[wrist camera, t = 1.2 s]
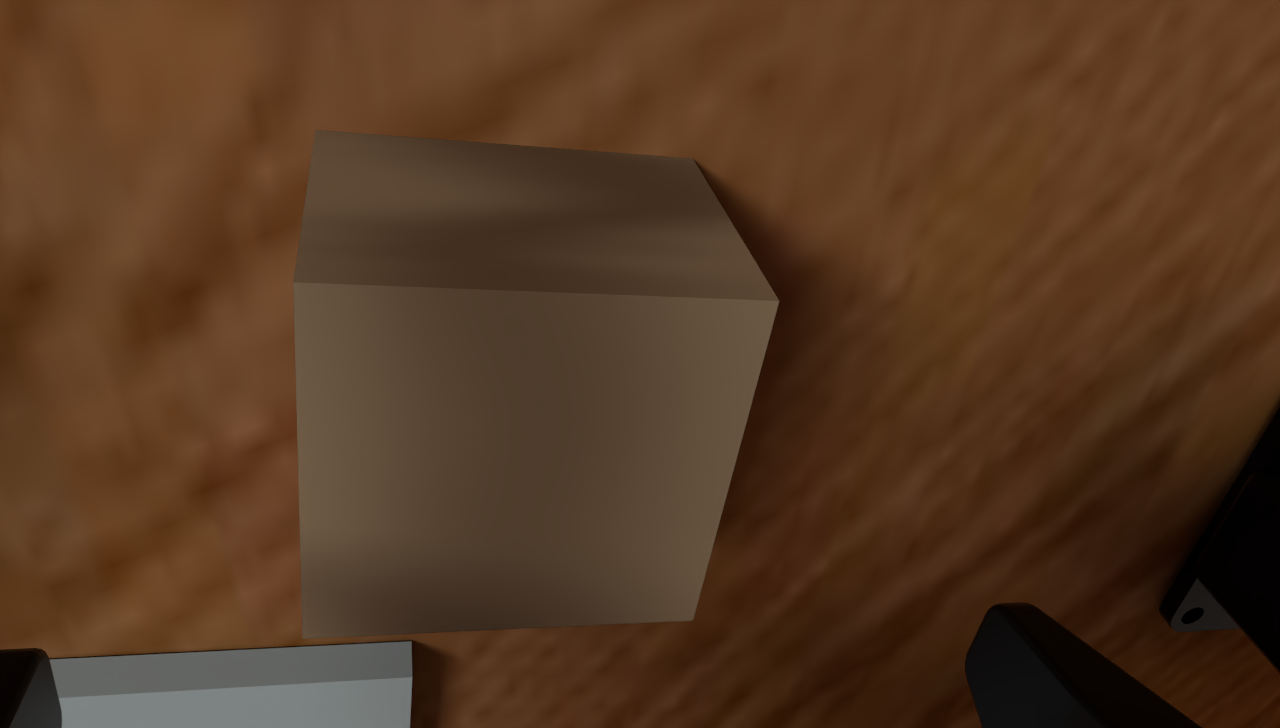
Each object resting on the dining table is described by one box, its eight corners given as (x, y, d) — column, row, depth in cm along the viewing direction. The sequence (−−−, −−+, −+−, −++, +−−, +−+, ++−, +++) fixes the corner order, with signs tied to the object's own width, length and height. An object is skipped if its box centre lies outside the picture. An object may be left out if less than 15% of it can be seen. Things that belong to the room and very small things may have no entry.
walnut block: (690, 154, 14) (780, 301, 11) (634, 436, 17) (693, 620, 14) (315, 125, 13) (293, 282, 10) (318, 436, 16) (302, 638, 12)
